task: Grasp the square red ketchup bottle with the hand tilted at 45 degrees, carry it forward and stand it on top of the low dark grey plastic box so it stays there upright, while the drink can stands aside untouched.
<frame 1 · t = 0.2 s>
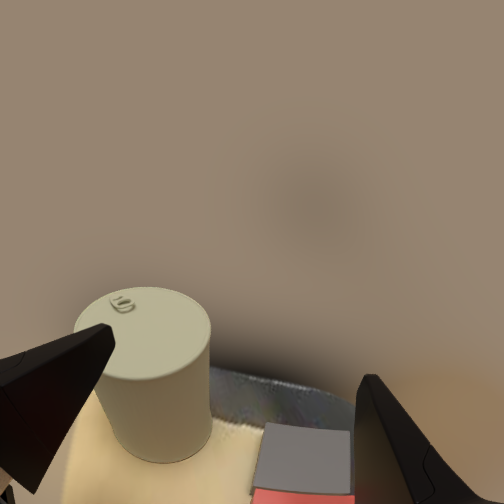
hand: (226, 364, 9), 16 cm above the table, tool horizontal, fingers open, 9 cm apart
can: (161, 421, 22), on the table
grey box: (297, 471, 18), on the table
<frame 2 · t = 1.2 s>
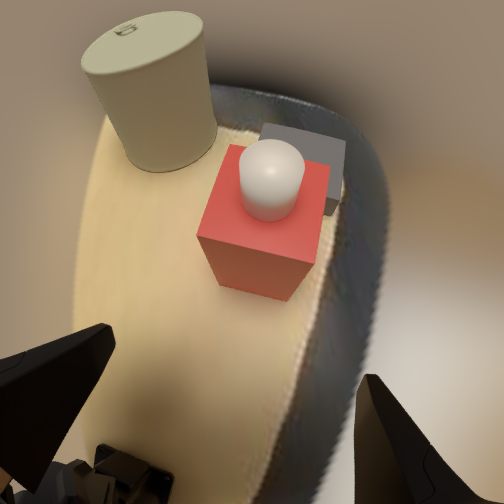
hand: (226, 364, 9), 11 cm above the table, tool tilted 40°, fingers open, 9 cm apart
can: (170, 135, 26), on the table
ketchup bottle: (261, 260, 22), on the table
grey box: (295, 178, 24), on the table
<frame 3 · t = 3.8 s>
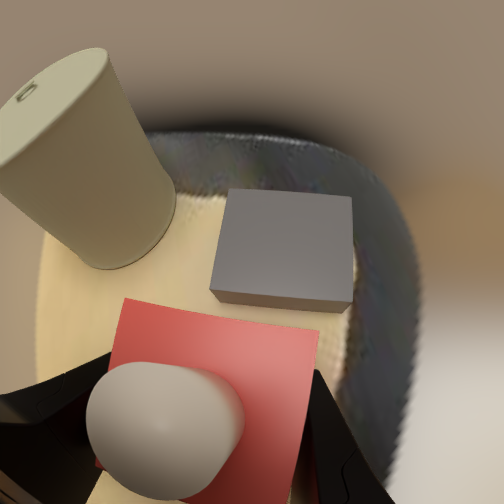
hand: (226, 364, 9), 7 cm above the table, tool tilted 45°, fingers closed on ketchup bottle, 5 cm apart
can: (121, 213, 20), on the table
ketchup bottle: (244, 392, 14), on the table, touching gripper
grey box: (285, 261, 18), on the table
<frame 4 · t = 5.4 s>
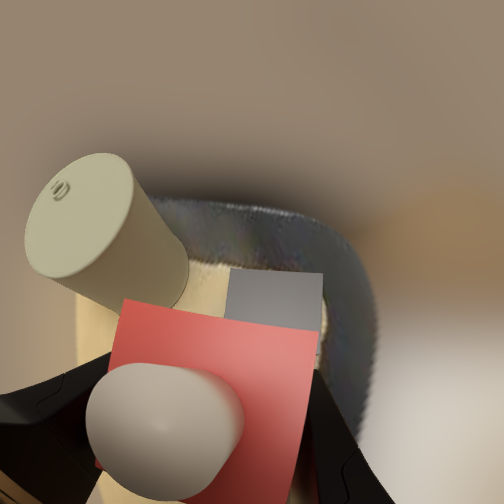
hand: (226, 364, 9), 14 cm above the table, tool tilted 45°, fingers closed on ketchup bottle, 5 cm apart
can: (143, 273, 26), on the table
ketchup bottle: (244, 392, 14), point 7 cm above the table, touching gripper
grey box: (274, 317, 23), on the table
when the fingers open (10 cm above the table, at t = 6.9 s): ketchup bottle stays where it is, resting on grey box.
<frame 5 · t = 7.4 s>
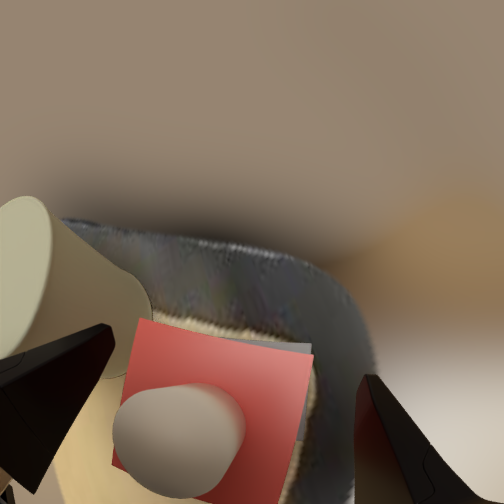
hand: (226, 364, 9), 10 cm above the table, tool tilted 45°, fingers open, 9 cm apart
can: (104, 322, 21), on the table
ketchup bottle: (246, 392, 15), point 3 cm above the table, touching grey box
grey box: (252, 387, 18), on the table, touching ketchup bottle
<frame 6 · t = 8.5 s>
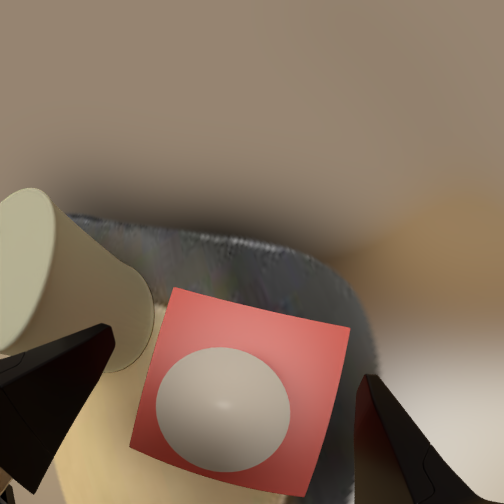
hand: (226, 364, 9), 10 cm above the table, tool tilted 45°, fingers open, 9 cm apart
can: (106, 316, 21), on the table
ketchup bottle: (253, 382, 15), point 3 cm above the table, touching grey box
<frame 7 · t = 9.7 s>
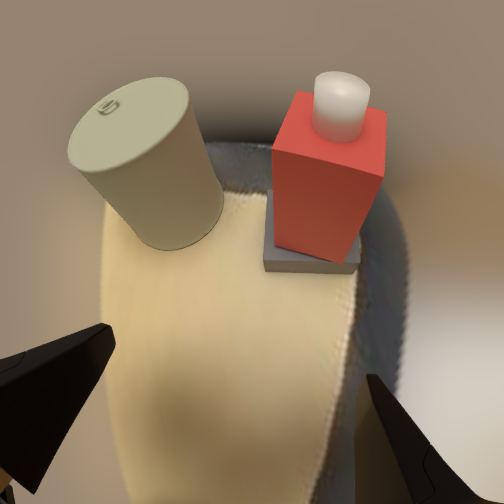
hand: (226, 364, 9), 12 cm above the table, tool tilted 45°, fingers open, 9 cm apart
can: (176, 206, 27), on the table
ketchup bottle: (316, 225, 21), point 3 cm above the table, touching grey box
grey box: (309, 240, 24), on the table, touching ketchup bottle
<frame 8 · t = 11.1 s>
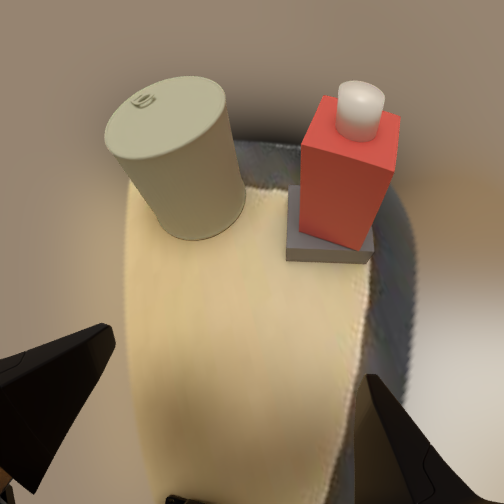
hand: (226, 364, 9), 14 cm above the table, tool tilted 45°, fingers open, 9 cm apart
can: (200, 200, 28), on the table
ketchup bottle: (337, 215, 23), point 3 cm above the table
grey box: (325, 233, 26), on the table
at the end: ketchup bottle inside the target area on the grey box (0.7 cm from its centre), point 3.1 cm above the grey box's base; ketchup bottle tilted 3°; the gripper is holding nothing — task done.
